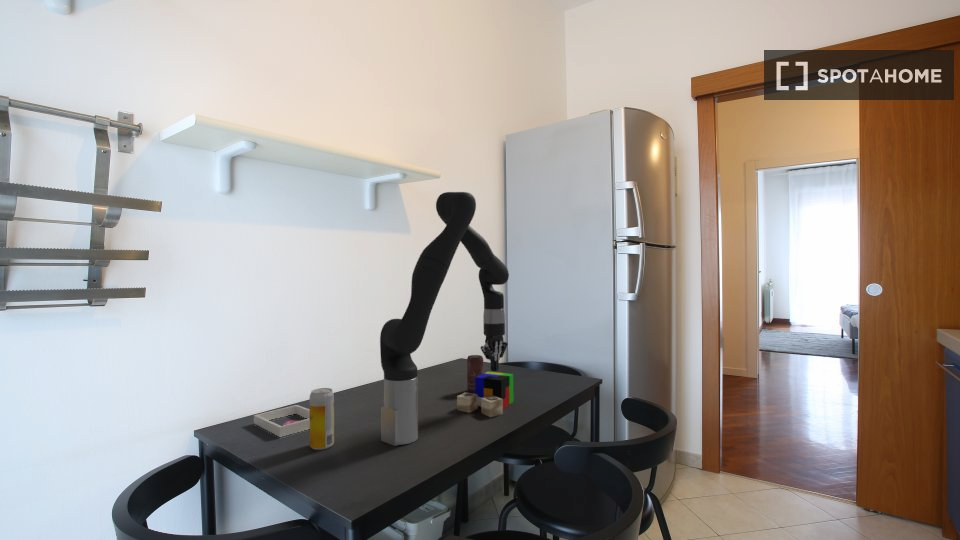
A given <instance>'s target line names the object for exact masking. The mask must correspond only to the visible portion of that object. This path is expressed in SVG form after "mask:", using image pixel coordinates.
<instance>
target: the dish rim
mask: <svg viewBox="0 0 960 540" xmlns="http://www.w3.org/2000/svg"><path fill="white" fill-rule="evenodd" d="M293 414H298V415H300V416H299V417H301V416H302V417H301V418H303V417H304V418H303V419H302V420H297V421H298V422H294V423H290V424H287V425H283V424H282V425H283V426H281V425H280V424H277V423H276V422H275V421H269V420H271V419H275V418H280V417H284V416H288V415H292V416H294V415H293ZM298 415H297V416H298ZM288 417H289V416H288ZM284 418H285V417H284ZM305 418H307V419H305ZM254 423H255V424H257V425H259V426H261V427H262V428H264V429H266V430H268V431H270V432H272V433H274V434H275V435H277V436H279V437H282V436H286V435H289V434H293V433H297V432H300V433H302V432H301V431H303V432H305V431H304V430H307V431H309V430H308V429H310V408H307V407H304V406H301V405H298V404H294V405H290V406H287V407H282V408H278V409H274V410H271V411H266V412H262V413H257V414H254V415H253V424H254ZM297 434H298V433H297ZM293 435H294V434H293Z"/></svg>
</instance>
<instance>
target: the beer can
mask: <svg viewBox="0 0 960 540" xmlns="http://www.w3.org/2000/svg"><path fill="white" fill-rule="evenodd" d="M334 393H335V392H333V389H332V388H329V387H322V388H317V389H316V388H315V389H312V390H311V392H310V394H309V409H310V430H309V447H310V448H311V449H312V450H314V451H324V450H327V449H329V448H331V447H332V446H333V445H334V444H335V395H334Z"/></svg>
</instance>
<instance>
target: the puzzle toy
mask: <svg viewBox="0 0 960 540" xmlns="http://www.w3.org/2000/svg"><path fill="white" fill-rule="evenodd" d="M475 394H477V399H478V407H481V398H485V397H490V396H495V397H498V398H501V399H503V409H505V408H506V407H508V406H509V405H511V404H513V403H514V373H508V372H507V373H504V372H499V371H495V372H494V371H485V372H483V374H481V375H479V376H477V377H475Z"/></svg>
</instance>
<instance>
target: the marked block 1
mask: <svg viewBox="0 0 960 540" xmlns="http://www.w3.org/2000/svg"><path fill="white" fill-rule="evenodd" d="M478 407H479V406H478V399H477V394H473V393H469V392H463V393H461V394H459V395H457V396H456V410H457V411H458V412H459V411H460V412H465V413H472V412H474V411H476V410H478V409H479V408H478Z"/></svg>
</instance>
